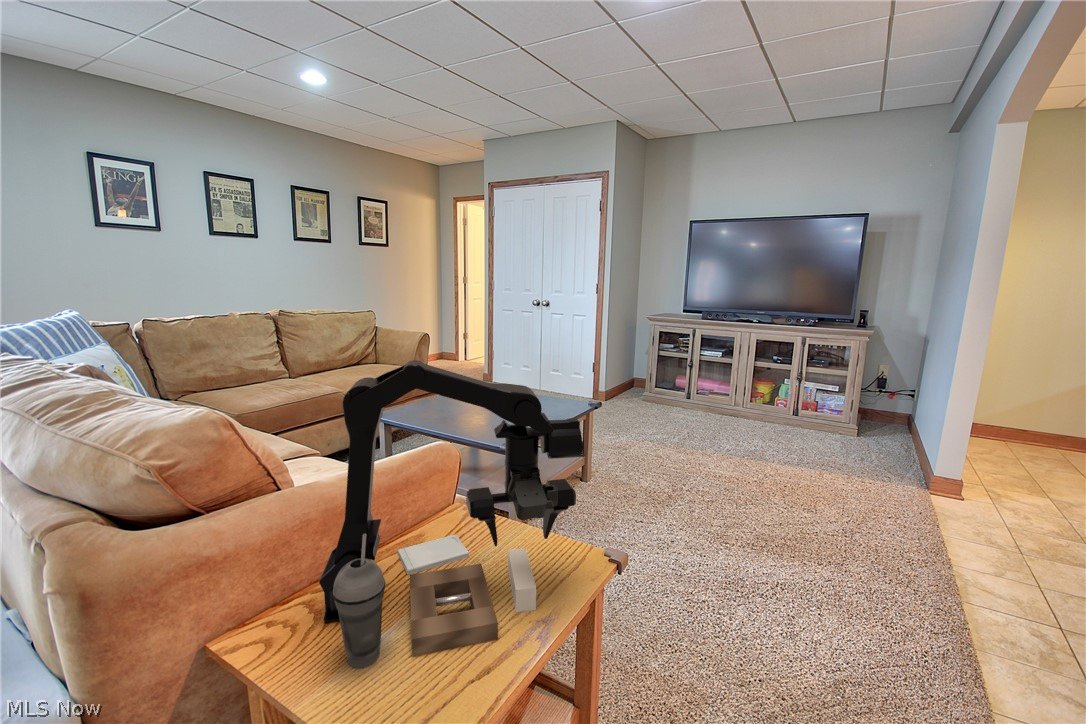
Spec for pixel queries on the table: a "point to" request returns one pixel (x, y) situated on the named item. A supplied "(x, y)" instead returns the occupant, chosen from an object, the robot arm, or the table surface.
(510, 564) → the cream block
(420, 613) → the brown square frame
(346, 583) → the beverage cup
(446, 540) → the hard drive
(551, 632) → the table surface
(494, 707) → the table surface
